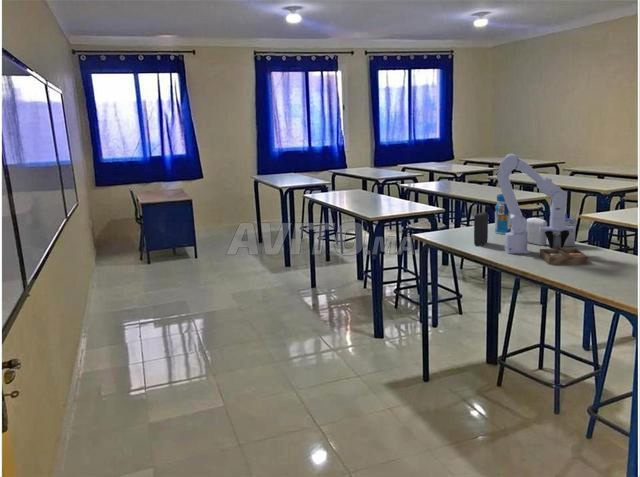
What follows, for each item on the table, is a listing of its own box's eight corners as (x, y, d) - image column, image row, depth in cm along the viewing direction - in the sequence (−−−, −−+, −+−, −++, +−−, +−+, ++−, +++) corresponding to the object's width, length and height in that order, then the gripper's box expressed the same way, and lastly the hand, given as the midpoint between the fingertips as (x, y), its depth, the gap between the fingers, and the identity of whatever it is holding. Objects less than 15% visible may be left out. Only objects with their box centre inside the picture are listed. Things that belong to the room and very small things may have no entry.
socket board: (548, 264, 215) (549, 256, 215) (539, 255, 229) (539, 248, 228) (587, 263, 213) (587, 255, 212) (575, 254, 227) (576, 247, 226)
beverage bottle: (491, 231, 278) (491, 194, 274) (505, 230, 280) (506, 193, 275) (500, 235, 270) (501, 196, 266) (514, 233, 272) (515, 195, 267)
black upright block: (480, 241, 260) (480, 211, 256) (488, 242, 257) (488, 212, 254) (472, 245, 253) (473, 214, 249) (480, 246, 250) (481, 215, 247)
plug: (552, 254, 230) (553, 234, 228) (549, 251, 234) (550, 232, 232) (562, 254, 229) (563, 234, 227) (559, 251, 233) (560, 232, 231)
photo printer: (548, 244, 246) (549, 218, 243) (542, 246, 244) (543, 220, 241) (529, 240, 255) (530, 216, 252) (523, 242, 253) (524, 217, 250)
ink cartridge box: (572, 243, 246) (573, 213, 242) (575, 246, 240) (577, 215, 237) (549, 243, 248) (551, 213, 244) (552, 246, 242) (553, 215, 239)
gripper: (542, 219, 225) (541, 250, 228) (578, 218, 223) (576, 249, 226) (538, 216, 232) (537, 246, 235) (572, 215, 230) (571, 245, 233)
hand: (556, 247), depth 231 cm, fingers closed on plug, 4 cm apart
